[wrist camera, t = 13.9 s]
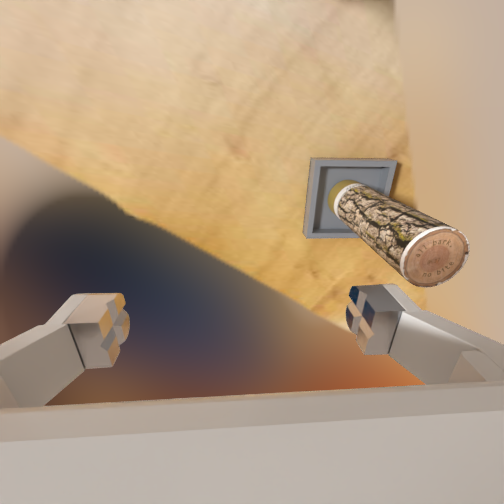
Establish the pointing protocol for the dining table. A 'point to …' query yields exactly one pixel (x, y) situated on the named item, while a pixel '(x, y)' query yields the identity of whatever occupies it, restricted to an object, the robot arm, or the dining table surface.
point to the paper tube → (401, 234)
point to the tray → (326, 177)
